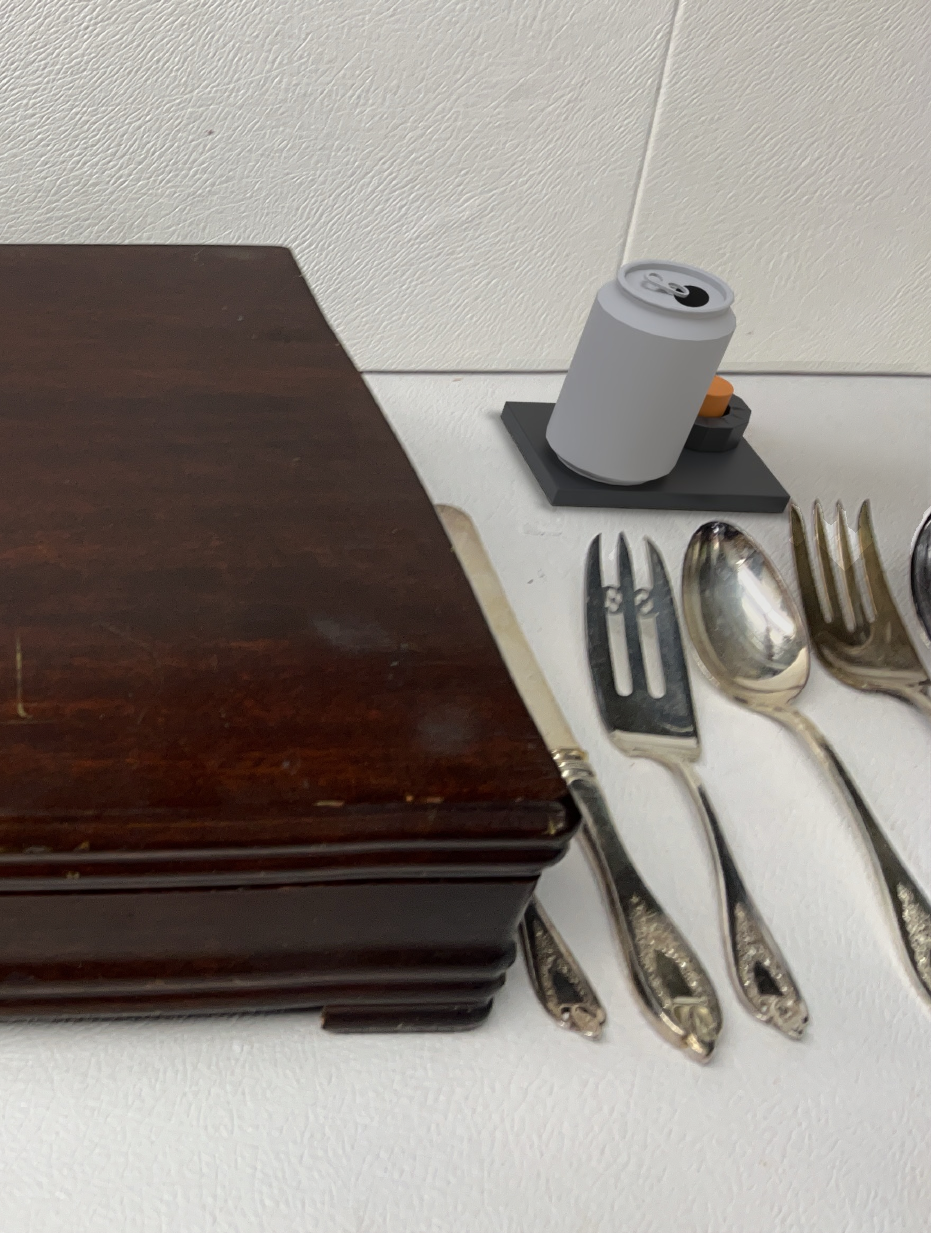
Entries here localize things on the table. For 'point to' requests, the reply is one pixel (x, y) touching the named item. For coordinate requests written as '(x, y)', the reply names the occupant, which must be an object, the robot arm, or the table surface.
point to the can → (641, 371)
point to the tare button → (716, 398)
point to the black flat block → (701, 479)
